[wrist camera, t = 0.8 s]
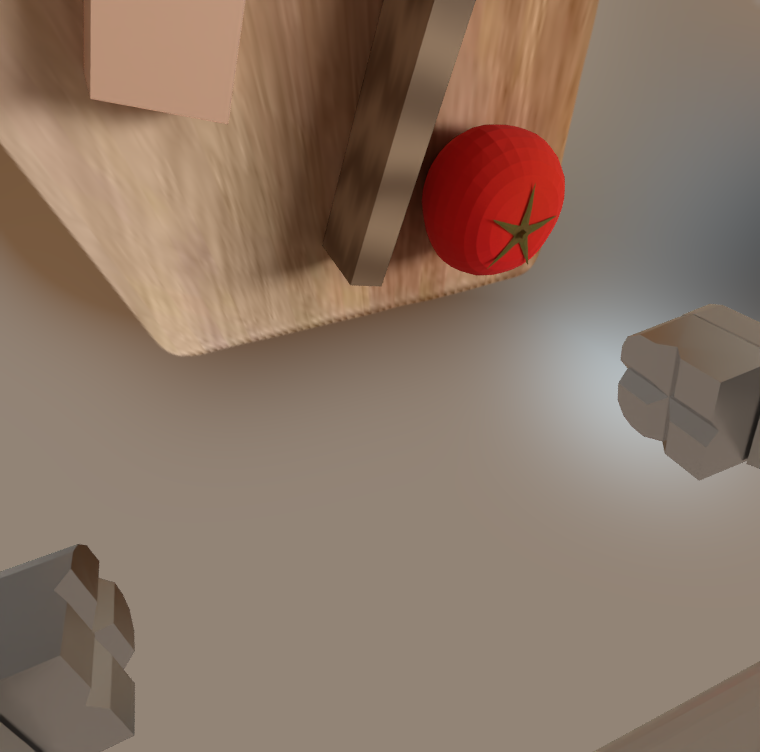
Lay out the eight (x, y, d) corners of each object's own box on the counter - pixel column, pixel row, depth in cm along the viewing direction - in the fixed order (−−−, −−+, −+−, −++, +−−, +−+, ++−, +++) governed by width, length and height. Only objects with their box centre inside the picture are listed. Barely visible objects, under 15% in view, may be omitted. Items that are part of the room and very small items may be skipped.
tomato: (393, 244, 56) (448, 305, 49) (420, 103, 48) (491, 152, 40) (491, 237, 61) (554, 292, 54) (531, 108, 53) (612, 153, 45)
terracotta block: (83, -82, 32) (90, -70, 28) (224, -36, 36) (248, -20, 32) (83, 69, 37) (90, 98, 33) (208, 95, 41) (228, 124, 37)
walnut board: (430, -187, 35) (490, -189, 31) (467, -166, 37) (530, -166, 32) (322, 245, 53) (350, 285, 48) (351, 247, 54) (381, 286, 49)
